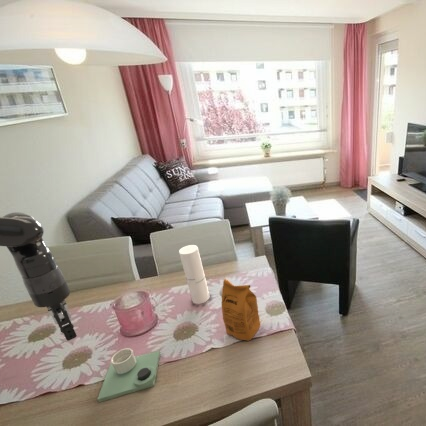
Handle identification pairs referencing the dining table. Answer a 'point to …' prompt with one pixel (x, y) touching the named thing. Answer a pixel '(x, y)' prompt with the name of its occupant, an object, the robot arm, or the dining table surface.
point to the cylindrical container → (194, 273)
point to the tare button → (143, 374)
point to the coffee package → (239, 311)
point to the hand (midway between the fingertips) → (68, 330)
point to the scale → (130, 377)
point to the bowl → (123, 360)
